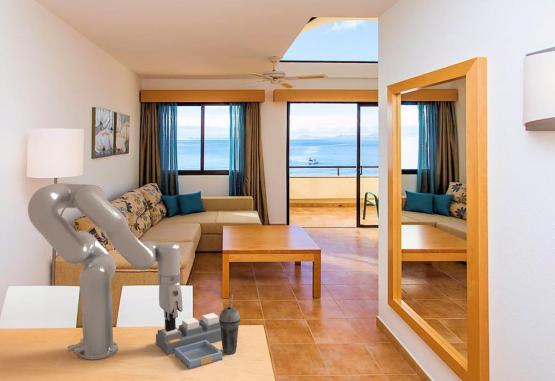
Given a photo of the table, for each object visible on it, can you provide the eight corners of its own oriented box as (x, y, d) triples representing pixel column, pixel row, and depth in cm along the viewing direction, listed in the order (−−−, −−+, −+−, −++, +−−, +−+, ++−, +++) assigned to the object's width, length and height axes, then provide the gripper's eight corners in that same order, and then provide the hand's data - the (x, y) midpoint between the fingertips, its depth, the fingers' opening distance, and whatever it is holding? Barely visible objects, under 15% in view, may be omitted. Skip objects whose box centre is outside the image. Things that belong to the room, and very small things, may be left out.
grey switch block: (167, 355, 157) (166, 332, 156) (155, 344, 165) (155, 323, 164) (224, 339, 170) (224, 318, 169) (211, 330, 178) (211, 310, 177)
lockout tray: (190, 369, 148) (190, 362, 147) (174, 355, 157) (174, 348, 157) (222, 359, 154) (222, 352, 154) (205, 346, 164) (205, 339, 163)
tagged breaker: (166, 340, 159) (166, 333, 159) (161, 335, 162) (160, 329, 162) (178, 337, 161) (178, 330, 161) (172, 332, 165) (172, 326, 165)
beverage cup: (214, 351, 160) (214, 295, 158) (230, 344, 165) (230, 290, 163) (228, 358, 155) (228, 300, 153) (244, 351, 160) (244, 295, 158)
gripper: (188, 282, 156) (189, 334, 158) (170, 271, 168) (171, 320, 170) (167, 286, 151) (168, 340, 154) (150, 275, 163) (151, 325, 166)
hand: (170, 329), depth 162 cm, fingers closed
